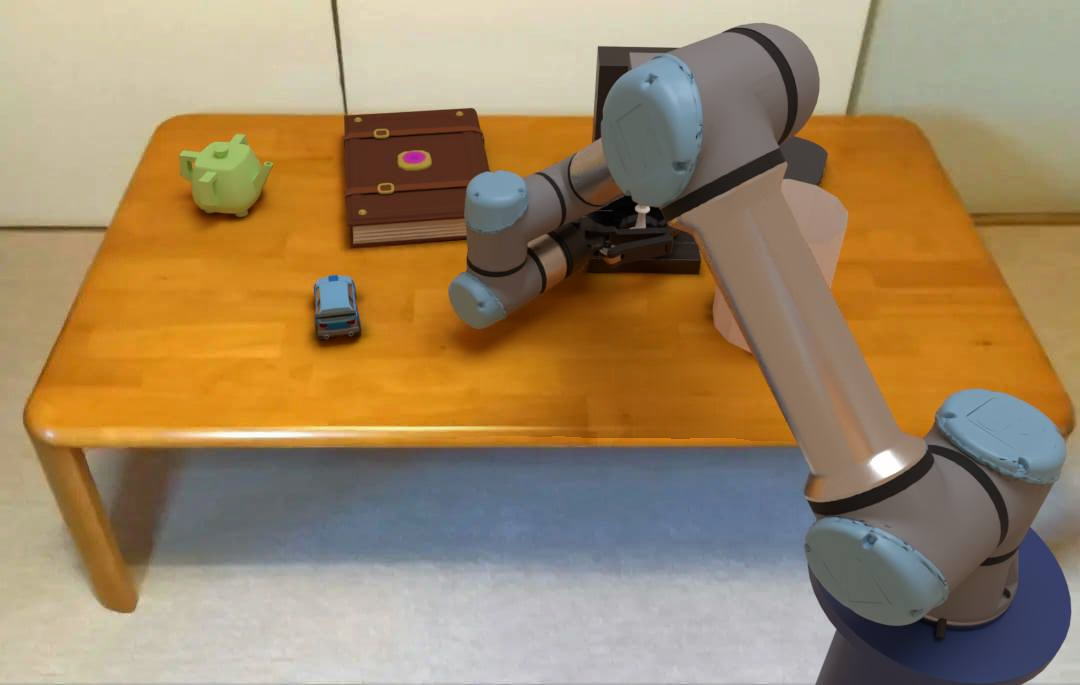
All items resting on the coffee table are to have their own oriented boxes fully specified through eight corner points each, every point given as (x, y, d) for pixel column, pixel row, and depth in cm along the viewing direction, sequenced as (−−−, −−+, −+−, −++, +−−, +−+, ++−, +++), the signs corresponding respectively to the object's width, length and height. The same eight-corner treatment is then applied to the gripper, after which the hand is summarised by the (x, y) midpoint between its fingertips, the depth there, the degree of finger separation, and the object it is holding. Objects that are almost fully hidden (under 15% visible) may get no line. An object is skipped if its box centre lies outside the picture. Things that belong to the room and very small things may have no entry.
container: (693, 302, 141) (710, 192, 129) (780, 277, 146) (804, 169, 134) (750, 367, 131) (774, 255, 119) (841, 338, 136) (873, 228, 124)
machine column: (684, 229, 154) (706, 70, 137) (591, 227, 154) (601, 68, 136) (676, 189, 162) (696, 34, 145) (589, 187, 162) (598, 32, 145)
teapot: (210, 233, 151) (197, 176, 144) (181, 197, 158) (167, 141, 151) (284, 208, 156) (274, 152, 150) (253, 174, 163) (242, 119, 156)
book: (348, 248, 149) (345, 220, 145) (345, 138, 172) (342, 111, 168) (503, 237, 152) (502, 209, 148) (479, 129, 175) (478, 103, 171)
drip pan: (698, 274, 146) (701, 260, 144) (587, 272, 146) (588, 258, 144) (687, 210, 158) (688, 196, 156) (583, 208, 157) (584, 195, 156)
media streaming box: (742, 140, 174) (745, 124, 172) (828, 157, 170) (832, 142, 168) (722, 183, 164) (725, 167, 162) (813, 203, 160) (817, 187, 158)
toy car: (356, 288, 142) (352, 255, 138) (363, 345, 133) (359, 311, 129) (314, 293, 141) (308, 260, 137) (317, 350, 132) (312, 317, 128)
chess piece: (651, 229, 154) (657, 172, 147) (659, 248, 150) (666, 191, 144) (619, 231, 153) (624, 175, 146) (626, 251, 149) (632, 193, 143)
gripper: (485, 239, 145) (586, 182, 156) (617, 320, 132) (716, 252, 143) (484, 194, 140) (588, 139, 151) (622, 274, 127) (724, 207, 138)
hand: (651, 194), depth 147 cm, fingers open, 13 cm apart
